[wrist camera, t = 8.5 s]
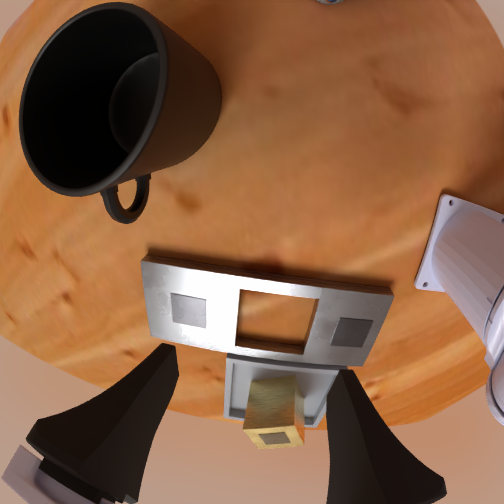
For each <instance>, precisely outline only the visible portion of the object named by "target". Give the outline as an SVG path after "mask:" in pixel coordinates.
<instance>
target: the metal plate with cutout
mask: <svg viewBox="0 0 504 504" xmlns="http://www.w3.org/2000/svg"><path fill="white" fill-rule="evenodd" d="M141 269H142V279H143V287H144V295H145V302H146V309H147V316H148V322H149V328H150V334H151V336H152V337H156V338H160V339H164V340H168V341H173V342H177V343H181V344H186V345H191V346H195V347H200V348H205V349H210V350H216V351H221V352H227V353H233V354H239V355H245V356H252V357H259V358H266V359H274V360H282V361H291V362H301V363H312V364H325V365H341V366H363V364H364V362H365V360H366V358H367V356H368V354H369V352H370V350H371V348H372V346H373V344H374V342H375V340H376V338H377V336H378V334H379V331H380V329H381V327H382V325H383V322H384V320H385V318H386V315H387V313H388V311H389V308H390V306H391V303H392V301H393V298H394V294H393V293H392V291H391V289H390V288H385V287H377V286H368V285H360V284H352V283H344V282H336V281H328V280H320V279H312V278H305V277H297V276H290V275H282V274H275V273H268V272H261V271H254V270H247V269H240V268H233V267H226V266H219V265H212V264H206V263H199V262H193V261H186V260H180V259H173V258H167V257H161V256H154V255H148V254H147V255H146V256H145V257H144V258H143V259H142V260H141ZM241 289H247V290H254V291H261V292H268V293H275V294H283V295H290V296H298V297H306V298H314V299H316V301H315V305H314V308H313V312H312V316H311V319H310V323H309V326H308V330H307V333H306V337H305V340H304V344H303V346H300V345H291V344H283V343H275V342H267V341H260V340H253V339H246V338H240V337H237V329H238V318H239V307H240V296H241Z"/></svg>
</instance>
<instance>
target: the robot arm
mask: <svg viewBox="0 0 504 504" xmlns="http://www.w3.org/2000/svg"><path fill="white" fill-rule="evenodd" d="M450 200H451V204H450V205H449V201H450ZM425 282H426V283H425ZM424 283H425V284H424ZM423 284H424V285H423ZM414 285H415V287H416V288H417V289H422V290H431V291H441V292H446V293H447V294H448V295H449V296H450V298H451V299H452V300H453V302H454V303H455V304H456V305H457V307H458V308H459V309H460V311H461V312H462V313H463V315H464V316H465V317H466V319H467V320H468V322H469V323H470V324H471V326H472V327H473V329H474V330H475V331H476V333H477V334H478V336H479V337H480V339H481V340H482V342H483V343H484V345H485V346H486V349H487V352H486V356H485V358H484V359H485V361H486V362H487V364H488V366H489V367H490V369H491V371H490V373H489V376H488V378H487V383H486V399H487V403H488V405H489V408H490V410H491V412H492V413H493V415H494V417H495V418H496V419H497V420H498V421H499V422H500V423H501V424H502V425H503V426H504V215H503V214H500V213H498V212H495V211H493V210H490V209H488V208H485V207H482V206H480V205H477V204H474V203H471V202H469V201H466V200H463V199H460V198H457V197H454V196H451V195H448V194H443V195H442V196H441V197H440V200H439V205H438V209H437V213H436V216H435V220H434V224H433V228H432V231H431V234H430V238H429V241H428V244H427V248H426V251H425V254H424V257H423V260H422V263H421V265H420V268H419V271H418V274H417V277H416V279H415V282H414ZM178 377H179V371H178V363H177V356H176V348H175V346H173V345H169V344H165V343H162V344H160V345H159V346H158V347H157V348H156V349H155V350H154V351H153V352H152V353H151V354H150V355H149V356H148V357H147V358H146V359H144V360H143V361H142V362H141V363H140V364H139V365H138V366H137V367H135V368H134V369H133V370H132V371H131V372H130V373H128V374H127V375H126V376H125V377H123V378H122V379H121V380H120V381H118V382H117V383H116V384H114V385H113V386H111V387H110V388H109V389H107V390H106V391H104V392H102V393H101V394H99V395H98V396H96V397H94V398H92V399H90V400H89V401H87V402H85V403H83V404H81V405H79V406H77V407H74V408H72V409H69V410H67V411H65V412H62V413H59V414H56V415H53V416H49V417H46V418H42V419H38V420H37V422H36V423H35V424H34V426H33V428H32V429H31V431H30V432H29V434H28V436H27V437H26V441H27V442H28V443H29V444H30V445H31V446H32V447H33V448H34V449H35V450H37V452H39V453H40V454H41V455H42V456H43V457H44V459H43V460H42V461H41V460H40V459H39V458H38V457H36V456H35V455H34V454H32V453H31V452H29V451H28V450H27V449H26V448H24V447H23V446H22V445H20V446H19V448H18V449H17V451H16V453H15V454H14V456H13V458H12V459H11V461H10V463H9V465H8V466H7V468H6V470H5V472H4V474H3V476H2V480H3V481H4V482H5V483H6V484H7V485H8V486H10V487H11V488H12V489H13V490H14V491H15V492H16V493H17V494H19V495H20V496H21V497H22V498H23V499H24V500H25V501H26V502H27V503H29V504H115V501H117V502H119V503H123V501H124V502H127V503H129V504H134V503H136V502H138V497H139V491H140V487H141V482H142V477H143V473H144V469H145V465H146V462H147V458H148V454H149V451H150V448H151V445H152V441H153V438H154V435H155V433H156V430H157V428H158V426H159V424H160V422H161V419H162V417H163V415H164V413H165V411H166V409H167V406H168V404H169V402H170V400H171V398H172V395H173V393H174V390H175V387H176V383H177V380H178ZM326 419H327V430H328V440H329V451H330V474H329V487H328V496H327V503H326V504H432V503H434V502H435V501H438V500H440V499H441V498H443V497H444V496H446V494H447V491H446V486H445V481H444V478H443V477H441V476H440V475H438V474H436V473H435V472H434V471H432V470H431V469H429V468H428V467H426V466H425V465H424V464H423V463H422V462H421V461H419V460H418V459H417V458H416V457H415V456H414V455H413V454H412V453H410V451H409V450H407V449H406V448H405V447H404V446H403V445H402V443H401V442H400V441H399V440H398V439H397V438H396V437H395V435H394V434H393V433H392V432H391V430H390V429H389V428H388V426H387V425H386V424H385V422H384V421H383V419H382V418H381V417H380V415H379V413H378V412H377V410H376V409H375V407H374V406H373V404H372V402H371V401H370V399H369V397H368V396H367V394H366V392H365V391H364V389H363V387H362V385H361V383H360V382H359V380H358V378H357V376H356V374H355V373H354V371H353V370H347V369H340V370H339V372H338V374H337V376H336V378H335V380H334V382H333V384H332V386H331V388H330V390H329V392H328V394H327V400H326Z"/></svg>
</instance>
